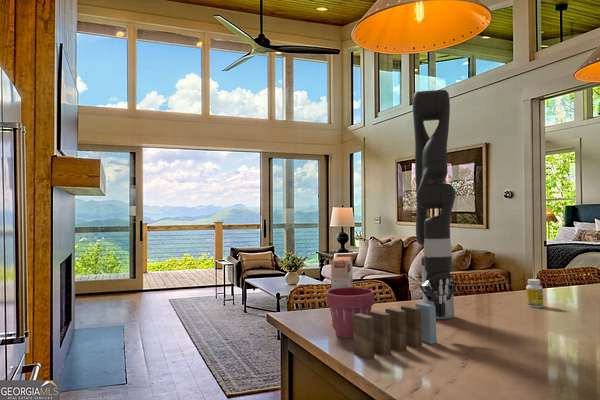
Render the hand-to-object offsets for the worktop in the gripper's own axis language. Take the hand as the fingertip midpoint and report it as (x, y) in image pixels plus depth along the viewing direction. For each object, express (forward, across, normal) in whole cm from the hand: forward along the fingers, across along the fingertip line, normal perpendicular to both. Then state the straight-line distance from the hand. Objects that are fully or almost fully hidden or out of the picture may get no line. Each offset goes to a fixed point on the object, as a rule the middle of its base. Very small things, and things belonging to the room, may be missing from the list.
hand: (440, 316), depth 133 cm
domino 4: (+6, +11, 0) cm, 13 cm away
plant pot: (+6, +17, -18) cm, 26 cm away
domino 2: (+6, +22, 0) cm, 23 cm away
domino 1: (+6, +27, 0) cm, 28 cm away
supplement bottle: (+6, -59, -9) cm, 60 cm away
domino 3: (+6, +16, 0) cm, 18 cm away
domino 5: (+6, +5, 0) cm, 8 cm away
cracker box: (+6, +10, -32) cm, 34 cm away
